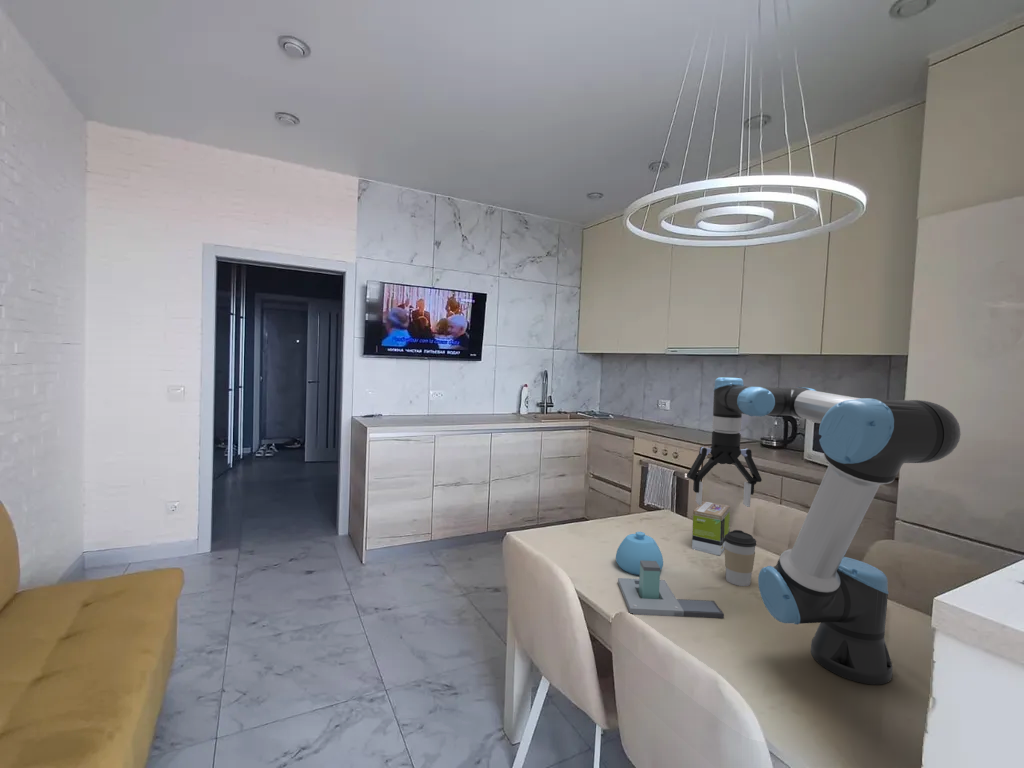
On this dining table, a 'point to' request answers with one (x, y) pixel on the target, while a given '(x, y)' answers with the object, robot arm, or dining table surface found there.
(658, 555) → the sugar bowl
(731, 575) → the coffee cup
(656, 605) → the outlet plate
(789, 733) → the dining table surface
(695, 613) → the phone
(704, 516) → the tea box
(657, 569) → the charger block
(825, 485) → the robot arm
